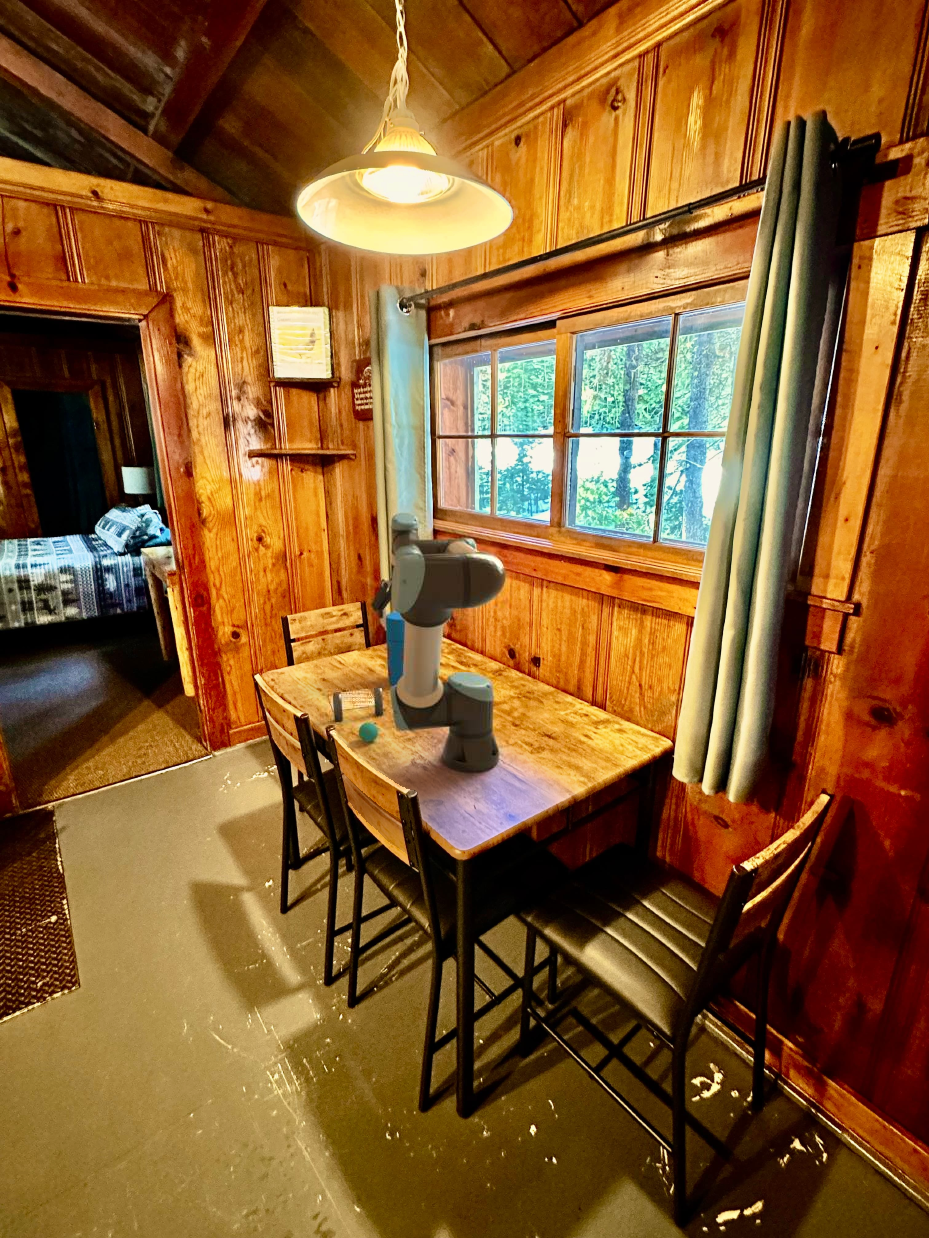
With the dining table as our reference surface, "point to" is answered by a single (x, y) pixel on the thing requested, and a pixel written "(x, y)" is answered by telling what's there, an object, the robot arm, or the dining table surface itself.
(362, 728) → the ball
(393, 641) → the thermos
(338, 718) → the post left
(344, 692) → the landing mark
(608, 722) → the dining table surface
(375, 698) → the post right
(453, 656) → the dining table surface
